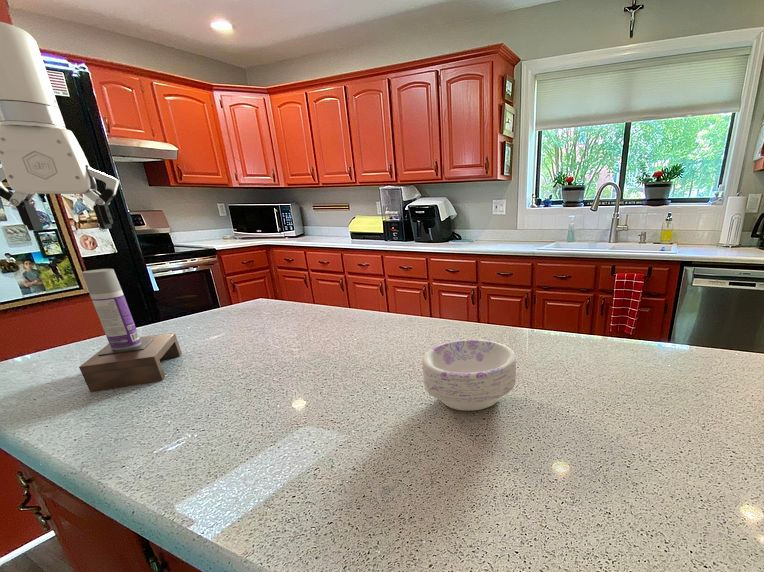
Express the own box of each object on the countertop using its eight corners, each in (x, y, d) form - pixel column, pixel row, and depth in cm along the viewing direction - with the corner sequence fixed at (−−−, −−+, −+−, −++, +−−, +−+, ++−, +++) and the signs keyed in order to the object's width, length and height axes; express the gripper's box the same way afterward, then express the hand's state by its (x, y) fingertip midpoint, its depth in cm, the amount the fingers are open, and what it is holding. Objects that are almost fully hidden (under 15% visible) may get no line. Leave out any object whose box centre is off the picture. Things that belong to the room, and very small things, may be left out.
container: (132, 341, 82) (105, 268, 76) (147, 343, 80) (120, 269, 75) (106, 348, 78) (75, 272, 72) (120, 351, 76) (90, 273, 71)
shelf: (89, 392, 72) (78, 365, 70) (121, 362, 86) (112, 339, 84) (162, 380, 76) (153, 355, 74) (182, 353, 90) (174, 331, 88)
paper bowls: (450, 431, 57) (447, 382, 54) (411, 391, 69) (407, 349, 66) (534, 404, 64) (536, 359, 61) (485, 372, 76) (484, 333, 73)
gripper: (-62, 110, 58) (-8, 232, 64) (89, 118, 64) (125, 229, 71) (-27, 119, 64) (19, 229, 71) (108, 126, 71) (139, 227, 77)
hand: (72, 229), depth 71 cm, fingers open, 9 cm apart
